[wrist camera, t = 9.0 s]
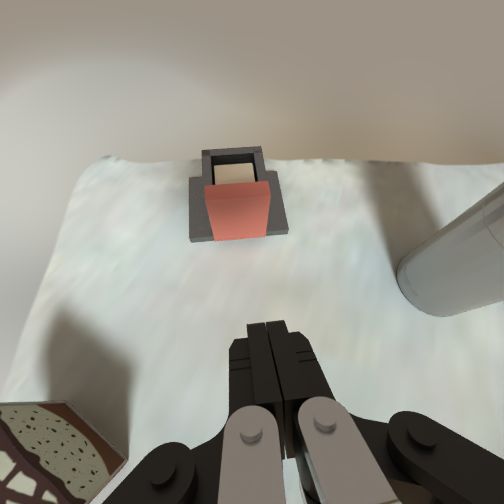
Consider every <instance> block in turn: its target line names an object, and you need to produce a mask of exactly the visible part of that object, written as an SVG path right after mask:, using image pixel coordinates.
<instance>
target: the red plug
mask: <svg viewBox="0 0 504 504" xmlns="http://www.w3.org/2000/svg"><path fill="white" fill-rule="evenodd" d="M214 171H215V185H206V186H205V202H206V206H207V210H208V215H209V219H210V223H211V227H212V231H213V236H214V240H215V241H223V240H234V239H245V238H256V237H265V236H266V228H267V221H268V213H269V206H270V198H271V193H270V188H269V182H268V181H258V182H255V178H254V171H253V165H252V163H244V164H230V165H216V166H214Z"/></svg>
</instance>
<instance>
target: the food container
mask: <svg viewBox="0 0 504 504" xmlns="http://www.w3.org/2000/svg"><path fill="white" fill-rule="evenodd" d="M127 461H128V459H127V458H126V457H125V456H124V455H123V454H122V453H121V452H120V451H119V450H117V449H116V448H115V447H114V446H113V445H112V444H111V443H110V442H109V441H108V440H107V439H106V438H105V437H104V436H103V435H102V434H101V433H100V432H99V431H97V430H96V429H95V428H94V427H93V426H92V425H91V424H90V423H89V422H88V421H87V420H86V419H85V418H84V417H83V416H82V415H81V414H80V413H79V412H78V411H76V410H75V409H74V408H73V407H72V406H71V405H70V404H69V403H68V402H67V401H43V402H7V403H0V504H89V503H90V502H91V501H92V500H93V499H94V498H95V497H96V496H97V495H98V494H99V493H100V492H101V491H102V489H103V488H104V487H105V486H106V485H107V484H108V483H109V482H110V481H111V480H112V479H113V478H114V477H115V475H116V474H117V473H118V472H119V471H120V470H121V469H122V468H123V466H124V465H125V464H126V463H127Z"/></svg>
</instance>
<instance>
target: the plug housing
mask: <svg viewBox="0 0 504 504" xmlns="http://www.w3.org/2000/svg"><path fill="white" fill-rule="evenodd" d="M244 163H252V165H253V171H254V178H255V182H258V181H268V182H269V188H270V193H271V198H270V206H269V213H268V221H267V228H266V236H270V235H281V234H288V230H289V229H288V224H287V219H286V214H285V209H284V204H283V199H282V195H281V190H280V185H279V180H278V175H277V171H273V172H266V171H265V165H264V159H263V154H262V148H261V146H258V147H242V148H227V149H213V150H202V174H203V177H192V178H189V239H190V241H191V243H193V242H204V241H215V240H214V236H213V231H212V227H211V223H210V219H209V215H208V210H207V206H206V202H205V186H206V185H215V171H214V166H216V165H230V164H244Z"/></svg>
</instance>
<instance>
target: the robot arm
mask: <svg viewBox="0 0 504 504" xmlns="http://www.w3.org/2000/svg"><path fill="white" fill-rule="evenodd" d="M397 280H398V283H399V286H400V288H401V290H402V293H403V294H404V295H405V297H406V298H407V299H408V300H409V301H410V302H411V303H412V304H413V305H414V306H415V307H417V308H418V309H420V310H421V311H423V312H425V313H427V314H430V315H434V316H440V317H447V316H452V315H456V314H459V313H463V312H466V311H469V310H473V309H476V308H480V307H483V306H487V305H490V304H493V303H497V302H500V301H503V300H504V182H503V183H502V184H500V185H499V186H498V187H496V188H495V189H494V190H493V191H491V192H490V193H489V194H488V195H486V196H485V197H484V198H482V199H481V200H480V201H478V202H477V203H476V204H474V205H473V206H472V207H470V208H469V209H468V210H466V211H465V212H464V213H462V214H461V215H460V216H458V217H457V218H456V219H454V220H453V221H452V222H450V223H449V224H448V225H446V226H445V227H444V228H442V229H441V230H440V231H439V232H437V233H436V234H435V235H433V236H432V237H431V238H429V239H428V240H427V241H425V242H424V243H423V244H421V245H420V246H418V247H417V248H416V249H415V250H413V251H412V252H411V253H409V254H408V255H407V256H405V257H404V258H403V259H402V260H401V262H400V264H399V266H398V270H397ZM247 334H248V338H241V339H234V341H233V343H232V345H231V347H230V348H229V415H228V419H227V421H226V424H225V425H224V427H223V428H222V430H221V431H220V432H219V433H218V434H217V435H216V436H215V437H214V438H212V439H211V440H209V441H207V442H205V443H203V444H201V445H199V446H197V447H195V448H193V449H191V450H190V449H189V448H188V447H187V446H186V445H184V444H182V443H179V442H169V443H165V444H163V445H160V446H158V447H157V448H155V449H153V450H152V451H151V452H150V453H148V454H147V455H146V456H145V457H144V459H143V460H142V461H141V462H140V463H139V464H138V465H137V466H136V467H135V468H134V469H133V470H132V472H131V473H130V474H129V475H128V476H127V477H126V478H125V479H124V480H123V481H122V482H121V483H120V484H119V486H118V487H117V488H116V489H115V490H114V491H113V492H112V493H111V494H110V495H109V496H108V497H107V499H106V500H105V501H104V502H103V503H102V504H286V498H285V489H284V479H283V463H282V460H283V459H285V450H286V456H287V459H289V458H296V463H297V467H298V472H299V487H300V492H301V496H302V499H303V503H304V504H504V460H503V459H502V458H500V457H498V456H496V455H495V454H493V453H491V452H489V451H487V450H486V449H484V448H482V447H480V446H479V445H477V444H475V443H473V442H471V441H470V440H468V439H466V438H464V437H463V436H461V435H459V434H457V433H455V432H454V431H452V430H450V429H448V428H447V427H445V426H443V425H441V424H439V423H438V422H436V421H434V420H432V419H430V418H429V417H427V416H425V415H422V414H419V413H416V412H411V411H402V412H398V413H396V414H394V415H393V416H392V417H391V418H390V420H389V423H384V422H378V421H373V420H367V419H363V418H360V417H357V416H355V415H353V414H351V413H349V412H348V411H347V410H346V409H345V407H344V406H342V405H341V404H340V403H338V402H337V401H336V400H335V398H334V396H333V394H332V391H331V389H330V387H329V385H328V383H327V380H326V378H325V376H324V374H323V371H322V369H321V367H320V365H319V363H318V361H317V358H316V356H315V354H314V352H313V349H312V347H311V345H310V342H309V340H308V339H307V338H306V337H305V336H304V335H302V334H301V333H300V332H291V333H289V332H288V330H287V327H286V324H285V321H284V320H280V321H271V322H266V326H265V323H264V322H263V323H254V324H247ZM284 445H285V450H284Z"/></svg>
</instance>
